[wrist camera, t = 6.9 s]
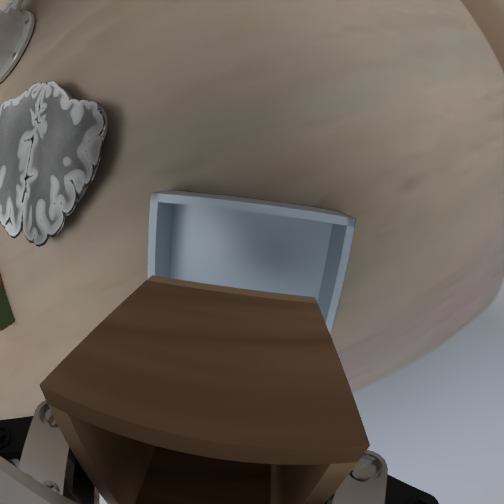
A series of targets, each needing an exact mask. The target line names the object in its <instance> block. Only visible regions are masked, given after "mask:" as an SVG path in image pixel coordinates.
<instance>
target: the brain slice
mask: <svg viewBox="0 0 504 504" xmlns="http://www.w3.org/2000/svg"><path fill="white" fill-rule="evenodd" d="M107 129H108V120H107V115H106V113H105V111H104V109H103V108H102V107H101V106H100V105H99V104H98V103H96V102H95V101H94V102H90V101H88V100H76V99H74V98H72V96H71V95H70V94H69V93H68V92H67V91H66V90H65V89H63V88H62V87H61V86H60V85H59V84H57V83H56V82H54V81H50V82H48V84H47V83H46V82H43V83H35V84H33V85H32V86H31V87H30V88H29V89H27V90H26V91H24V92H23V93H22V94H21V95H20V96H18V97H17V98H15V99H9V100H7V101H5V102H4V103H2V105H1V106H0V223H1V224H2V226H3V227H4V228H5V229H6V232H7V233H8V235H10V236H11V237H12V238H16V237H17V236H18V235H19V234H20V233H21V231H22V229H23V231H24V234H25V237H26V239H27V240H28V241H29V242H31V243H34V244H35V245H36V246H39V247H40V246H43V245H44V244H46V242H47V240H48V239H49V236H51V237H54V236H56V235H57V234H58V233H59V231H60V230H61V229H62V227H63V225H64V221H65V217H66V216H68V215H70V214H71V213H72V212H73V211H74V209H75V208H76V205H77V203H78V202H79V201H80V200H81V199H82V197H83V196H84V194H85V192H86V190H87V187H88V185H90V184H91V183H92V181H93V179H94V177H95V174H96V171H97V168H98V164H99V162H100V158H101V153H102V148H103V142H104V138H105V136H106V134H107Z"/></svg>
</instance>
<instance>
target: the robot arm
mask: <svg viewBox="0 0 504 504" xmlns="http://www.w3.org/2000/svg"><path fill="white" fill-rule="evenodd" d="M23 1H24V0H13V3H8V4H7V5H6V7H5V9H4V11H0V83H1V82H2V81H3V80H4V79H5V78H6V77H7V76H8V74H9V73H10V72H11V71H12V69H13V68H14V67H15V65H16V63H17V62H18V60H19V59H20V57H21V55H22V54H23V52H24V50H25V48H26V46H27V44H28V42H29V40H30V37H31V35H32V32H33V28H34V23H35V18H34V15H33V14H32V13H30V12H28V11H22V12H20V10H21V7H20V6H21V4H22V3H23ZM387 471H388V469H387V464H386V462H385V460H384V459H383V458H382V457H381V456H380V455H379V454H377V453H375V452H373V451H369V450H366V452H365V453H364V455H363V456H362V457H361V459H360V460H359V462H358V463H357V464H356V466H355V467H354V468H353V470H352V471H351V472H350V474H349V475H348V476H347V478H346V479H345V480H344V481H343V483H342V484H341V485H340V486H339V488H338V489H337V490H336V491H335V492H334V493H333V495H332V496H331V497H330V498H329V499H328V500H327V502H326V503H325V504H439V503H438V501H437V500H436V499H435V497H434V496H432V495H430V494H428V493H426V492H424V491H421V490H419V489H417V488H415V487H412V486H410V485H408V484H406V483H404V482H402V481H400V480H398V479H396V478H394V477H392V476H390V475H388V474H387ZM0 504H99V492H98V490H97V489H96V487H95V486H94V485H93V483H92V482H91V480H90V479H89V477H88V476H87V474H86V473H85V471H84V470H83V468H82V467H81V465H80V464H79V462H78V460H77V459H76V457H75V455H74V454H73V452H72V450H71V449H70V447H69V445H68V443H67V442H66V440H65V438H64V436H63V434H62V432H61V430H60V428H59V426H58V425H57V423H56V420H55V418H54V416H53V414H52V412H51V410H50V408H49V406H48V403H47V401H46V400H45V401H43V402H42V403H40V404H39V405H38V407H37V408H36V410H35V413H34V416H30V417H23V418H15V419H7V420H0Z"/></svg>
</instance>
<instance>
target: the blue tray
mask: <svg viewBox="0 0 504 504" xmlns="http://www.w3.org/2000/svg"><path fill="white" fill-rule="evenodd" d="M355 223H356V218H353V217H351V216H349V215H347V214H344V213H342V212H340V211H334V210H328V209H322V208H316V207H309V206H303V205H296V204H289V203H282V202H275V201H267V200H260V199H252V198H244V197H235V196H226V195H217V194H208V193H198V192H187V191H176V190H168V191H161V192H154V193H151V198H150V213H149V232H148V279H149V278H150V277H151V276H152V275H153V276H160V277H166V278H172V279H179V280H185V281H192V282H198V283H205V284H212V285H219V286H227V287H234V288H241V289H249V290H257V291H265V292H273V293H282V294H290V295H299V296H308V297H315V298H316V301H317V303H318V306H319V308H320V310H321V313H322V315H323V318H324V320H325V323H326V326H327V328H328V331H329V333H330V332H331V329H332V325H333V321H334V318H335V314H336V310H337V306H338V302H339V298H340V294H341V290H342V286H343V282H344V277H345V273H346V268H347V264H348V259H349V254H350V249H351V244H352V239H353V234H354V228H355Z"/></svg>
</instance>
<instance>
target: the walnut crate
mask: <svg viewBox="0 0 504 504" xmlns="http://www.w3.org/2000/svg"><path fill="white" fill-rule="evenodd" d="M40 387H41V389H42V392H43V394H44V396H45V399H46V401H47V403H48V406H49V408H50V410H51V412H52V414H53V416H54V418H55V420H56V423H57V425H58V426H59V428H60V430H61V432H62V434H63V436H64V438H65V440H66V442H67V443H68V445H69V447H70V449H71V450H72V452H73V454H74V455H75V457H76V459H77V460H78V462H79V464H80V465H81V467H82V468H83V470H84V471H85V473H86V474H87V476H88V477H89V479H90V480H91V482H92V483H93V485H94V486H95V487H96V489H97V490H98V492H99V493H100V494H101V496H102V497H103V498H104V500H105V501H106V502H107V503H108V504H325V503H326V502H327V500H328V499H329V498H330V497H331V496H332V495H333V493H334V492H335V491H336V490H337V489H338V488H339V486H340V485H341V484H342V483H343V481H344V480H345V479H346V478H347V476H348V475H349V474H350V472H351V471H352V470H353V468H354V467H355V466H356V464H357V463H358V462H359V460H360V459H361V457H362V456H363V455H364V453H365V452H366V450H367V449H368V447H369V446H370V444H369V441H368V438H367V435H366V432H365V429H364V426H363V423H362V421H361V417H360V415H359V412H358V409H357V406H356V403H355V400H354V397H353V395H352V392H351V389H350V386H349V384H348V381H347V378H346V375H345V373H344V370H343V367H342V365H341V362H340V359H339V357H338V354H337V351H336V349H335V346H334V343H333V341H332V338H331V336H330V333H329V331H328V328H327V326H326V323H325V320H324V318H323V315H322V313H321V310H320V308H319V306H318V303H317V301H316V298H315V297H308V296H299V295H290V294H282V293H273V292H265V291H257V290H249V289H241V288H234V287H227V286H219V285H212V284H205V283H198V282H192V281H185V280H179V279H172V278H166V277H160V276H153V275H152V276H151V277H150V278H149V279H147V280H146V281H145V282H144V283H143V284H142V285H141V286H140V287H139V288H137V289H136V290H135V291H134V292H133V293H132V294H131V295H130V296H129V297H128V298H127V299H126V300H124V301H123V302H122V303H121V304H120V305H119V306H118V307H117V308H116V309H115V310H114V311H113V312H112V313H111V314H110V315H108V316H107V317H106V318H105V319H104V320H103V321H102V322H101V323H100V324H99V325H98V326H97V327H96V328H95V329H94V330H93V331H92V332H91V333H90V334H89V335H88V336H87V337H86V338H85V339H84V340H83V341H82V342H81V343H80V344H79V345H78V346H77V347H76V348H75V349H74V350H73V351H72V352H71V353H70V354H69V355H68V356H67V357H66V358H65V359H64V360H63V361H62V362H61V363H60V364H59V365H58V366H57V367H56V368H55V369H54V370H53V371H52V372H51V373H50V374H49V375H48V376H47V377H46V379H45V380H44V381H43V382H42V383H41V384H40Z"/></svg>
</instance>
